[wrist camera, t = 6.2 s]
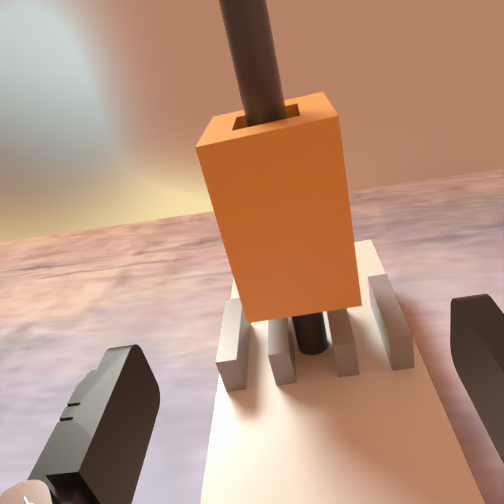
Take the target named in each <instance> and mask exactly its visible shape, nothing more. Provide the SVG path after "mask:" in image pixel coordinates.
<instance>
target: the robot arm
mask: <svg viewBox="0 0 504 504" xmlns="http://www.w3.org/2000/svg"><path fill="white" fill-rule="evenodd" d="M450 348H451V355H452V359H453V363H454V366H455V368H456V371H457V373H458V375H459V377H460V379H461V381H462V383H463V385H464V387H465V389H466V391H467V393H468V395H469V397H470V399H471V400H472V402H473V404H474V406H475V408H476V410H477V412H478V414H479V416H480V418H481V420H482V422H483V424H484V426H485V428H486V430H487V432H488V434H489V436H490V438H491V440H492V442H493V444H494V446H495V447H496V449H497V451H498V453H499V455H500V457H501V459H502V461H503V463H504V314H503V313H502V311H501V310H500V309H499V307H498V306H497V305H496V303H495V302H494V301H493V299H492V298H491V297H490V296H489V295H488V294H480V295H473V296H467V297H460V298H453V299H452V301H451V326H450ZM159 405H160V391H159V386H158V384H157V381H156V379H155V377H154V375H153V373H152V371H151V368H150V366H149V364H148V362H147V360H146V358H145V356H144V353H143V351H142V349H141V348H140V347H139V346H138V345H129V346H122V347H115V348H110V349H108V350H107V351H106V352H105V354H104V356H103V358H102V360H101V362H100V364H99V366H98V368H97V370H91V372H90V373H89V374H88V375H87V376H86V377H85V378H84V379H83V380H82V381H81V382H80V383H79V384H78V385H77V386H76V388H75V390H74V392H73V394H72V396H71V398H70V400H69V402H68V407H65V409H64V411H63V413H62V415H61V417H60V422H58V423H57V425H56V426H55V428H54V430H53V432H52V434H51V436H50V438H49V440H48V442H47V444H46V446H45V447H44V449H43V451H42V453H41V455H40V457H39V459H38V461H37V463H36V465H35V466H34V468H33V470H32V472H31V474H30V476H29V478H28V479H27V481H24V482H21V483H19V484H17V485H15V486H13V487H11V488H10V489H8V490H7V491H5V492H4V493H3V494H2V495H1V496H0V504H131V503H132V500H133V496H134V493H135V489H136V486H137V482H138V479H139V476H140V472H141V469H142V465H143V462H144V458H145V455H146V451H147V448H148V444H149V441H150V437H151V434H152V430H153V427H154V423H155V420H156V417H157V413H158V410H159Z"/></svg>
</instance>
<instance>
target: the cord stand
mask: <svg viewBox="0 0 504 504" xmlns="http://www.w3.org/2000/svg"><path fill="white" fill-rule="evenodd" d="M219 4H220V8H221V12H222V17H223V21H224V26H225V30H226V34H227V39H228V43H229V48H230V52H231V56H232V60H233V65H234V69H235V73H236V78H237V82H238V87H239V91H240V96H241V100H242V104H243V109H244V113H245V117H246V122H247V126H248V127H251V126H256V125H260V124H265V123H269V122H274V121H278V120H283V119H287V114H286V108H285V103H284V97H283V92H282V87H281V81H280V75H279V70H278V64H277V59H276V53H275V48H274V42H273V37H272V31H271V26H270V20H269V15H268V10H267V4H266V0H219ZM354 245H355V253H356V261H357V269H358V277H359V285H360V293H361V301H362V306H358V307H352V308H345V309H338V310H332V311H325V312H319V313H312V314H306V315H299V316H292V317H286V318H279V319H273V320H266V321H259V322H253V323H247V321H246V317H245V314H244V310H243V307H242V304H241V300H240V297H239V293H238V290H237V287H236V283H235V280H233V287H232V294H231V299H226V303H225V309H224V315H223V321H222V327H221V333H220V339H219V345H218V352H217V358H216V365H217V367H218V370H219V373H220V374H219V381H218V387H217V394H216V401H215V408H214V414H213V421H212V428H211V434H210V441H209V448H208V454H207V461H206V468H205V475H204V481H203V488H202V495H201V501H200V504H485V502H484V500H483V497H482V495H481V493H480V491H479V488H478V486H477V484H476V481H475V479H474V477H473V474H472V472H471V470H470V467H469V465H468V463H467V460H466V458H465V456H464V454H463V451H462V449H461V447H460V444H459V442H458V440H457V437H456V435H455V433H454V430H453V428H452V426H451V424H450V421H449V419H448V417H447V414H446V412H445V410H444V407H443V405H442V403H441V400H440V398H439V396H438V394H437V391H436V389H435V387H434V384H433V382H432V380H431V377H430V375H429V373H428V370H427V368H426V366H425V364H424V361H423V359H422V357H421V354H420V352H419V350H418V347H417V345H416V343H415V340H414V338H413V334H412V332H411V330H410V328H409V325H408V323H407V321H406V318H405V316H404V314H403V311H402V309H401V307H400V305H399V302H398V300H397V298H396V295H395V293H394V291H393V288H392V286H391V284H390V282H389V279H388V277H387V275H386V273H385V271H384V269H383V267H382V264H381V262H380V260H379V257H378V255H377V253H376V250H375V248H374V246H373V243H372V241H371V239H370V240H365V241H359V242H354Z"/></svg>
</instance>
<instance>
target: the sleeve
mask: <svg viewBox="0 0 504 504" xmlns="http://www.w3.org/2000/svg"><path fill="white" fill-rule="evenodd" d="M284 103H285V108H286V114H287V119H283V120H278V121H274V122H269V123H265V124H260V125H256V126H251V127H248V126H247V122H246V117H245V113H244V110H241V111H237V112H233V113H228V114H223V115H219V116H215V117H213V118H212V120H211V121H210V123H209V125H208V126H207V128H206V130H205V132H204V133H203V135H202V137H201V138H200V140H199V142H198V143H197V145H196V151H197V155H198V158H199V161H200V165H201V168H202V172H203V175H204V178H205V182H206V185H207V188H208V192H209V195H210V199H211V202H212V205H213V209H214V212H215V216H216V219H217V222H218V226H219V229H220V232H221V236H222V239H223V243H224V246H225V249H226V253H227V256H228V260H229V263H230V266H231V270H232V273H233V277H234V280H235V283H236V287H237V290H238V293H239V297H240V300H241V304H242V307H243V310H244V314H245V317H246V321H247V323H253V322H259V321H266V320H273V319H279V318H286V317H292V316H299V315H306V314H312V313H319V312H325V311H332V310H338V309H345V308H352V307H358V306H362V301H361V293H360V285H359V277H358V269H357V261H356V253H355V245H354V236H353V228H352V220H351V212H350V204H349V196H348V189H347V180H346V172H345V164H344V156H343V148H342V141H341V132H340V124H339V116H338V114H337V113H336V111H335V110H334V108H333V106H332V105H331V103H330V102H329V100H328V99H327V97H326V96H325V94H324V92H319V93H315V94H311V95H306V96H302V97H298V98H293V99H289V100H285V101H284Z"/></svg>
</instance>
